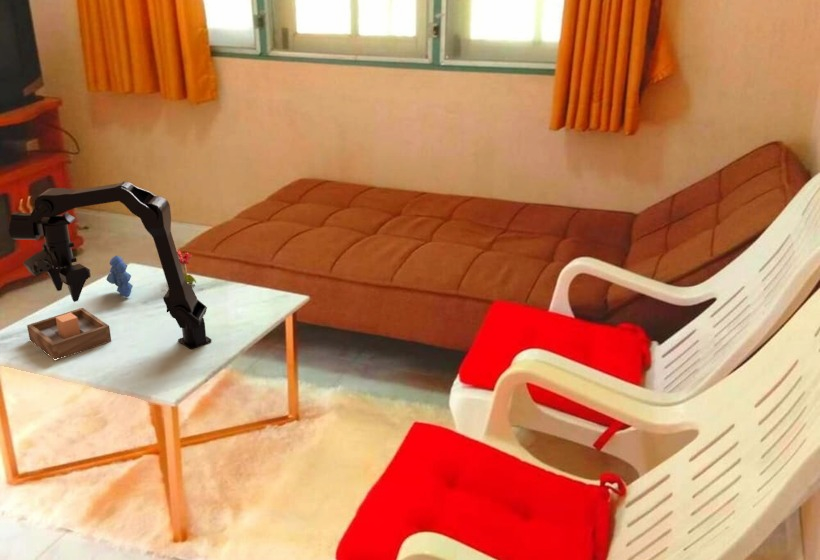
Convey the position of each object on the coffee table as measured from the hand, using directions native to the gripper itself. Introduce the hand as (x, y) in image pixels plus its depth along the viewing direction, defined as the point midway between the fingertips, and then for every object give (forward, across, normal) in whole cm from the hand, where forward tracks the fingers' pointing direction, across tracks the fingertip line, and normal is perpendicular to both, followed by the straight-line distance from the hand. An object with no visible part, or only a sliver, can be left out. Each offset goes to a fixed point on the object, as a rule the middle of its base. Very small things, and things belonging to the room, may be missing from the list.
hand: (67, 295), depth 199 cm
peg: (+13, 0, -1) cm, 13 cm away
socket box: (+13, 0, -1) cm, 13 cm away
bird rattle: (+13, -12, +40) cm, 44 cm away
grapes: (+13, -17, +22) cm, 31 cm away
